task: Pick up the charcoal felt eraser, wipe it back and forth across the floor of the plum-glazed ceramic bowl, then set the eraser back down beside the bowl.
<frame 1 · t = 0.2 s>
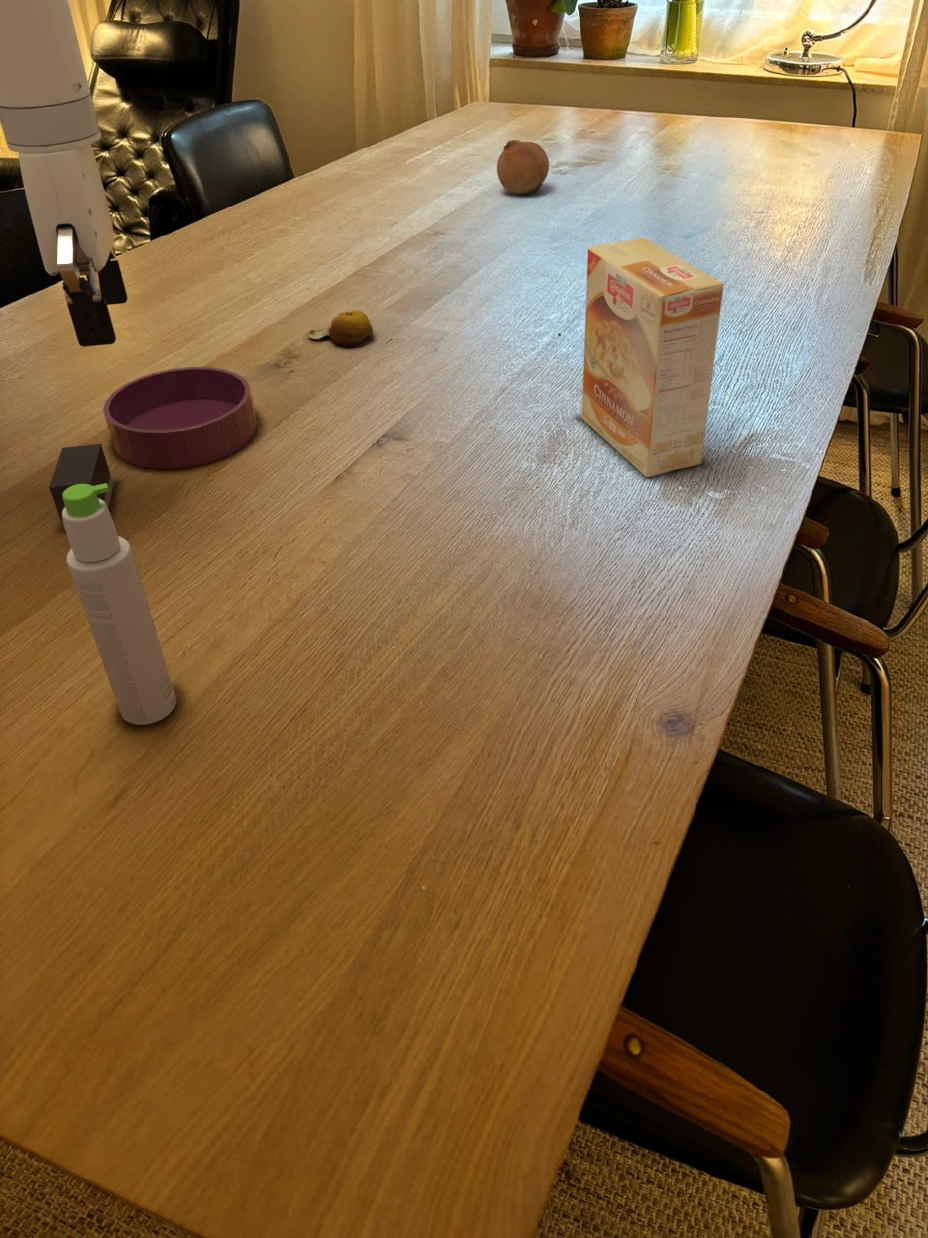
hand: (105, 322, 93), 19 cm above the table, tool pointing down, fingers open, 9 cm apart
coffeecake box: (638, 442, 109), on the table
onion: (523, 193, 182), on the table
eraser: (89, 506, 103), on the table
bowl: (186, 433, 115), on the table
fruit: (346, 335, 135), on the table
bottle: (149, 708, 79), on the table
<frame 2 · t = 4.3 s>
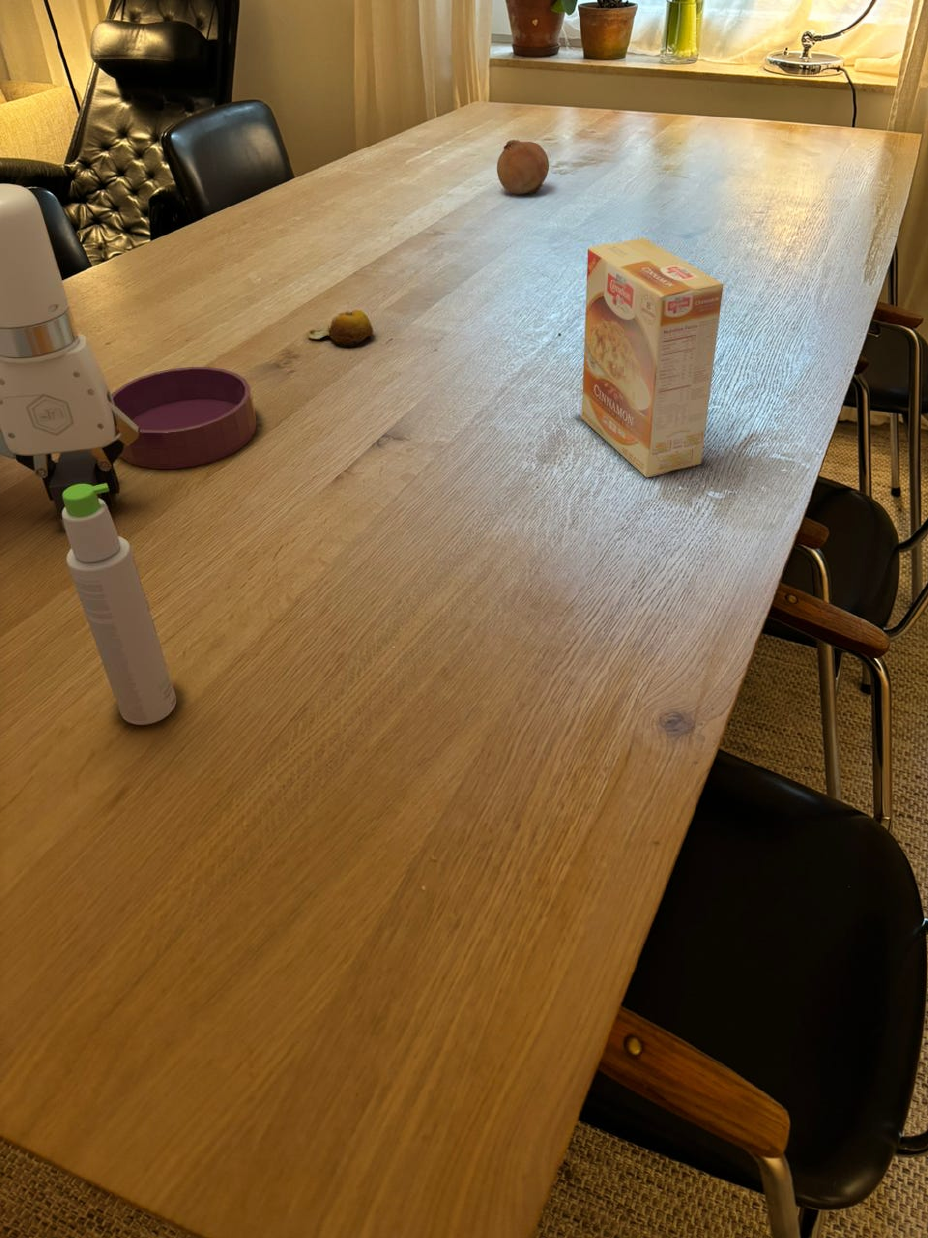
hand: (87, 499, 102), 1 cm above the table, tool pointing down, fingers closed on eraser, 4 cm apart
eraser: (89, 506, 103), on the table, touching gripper
everything else where it was.
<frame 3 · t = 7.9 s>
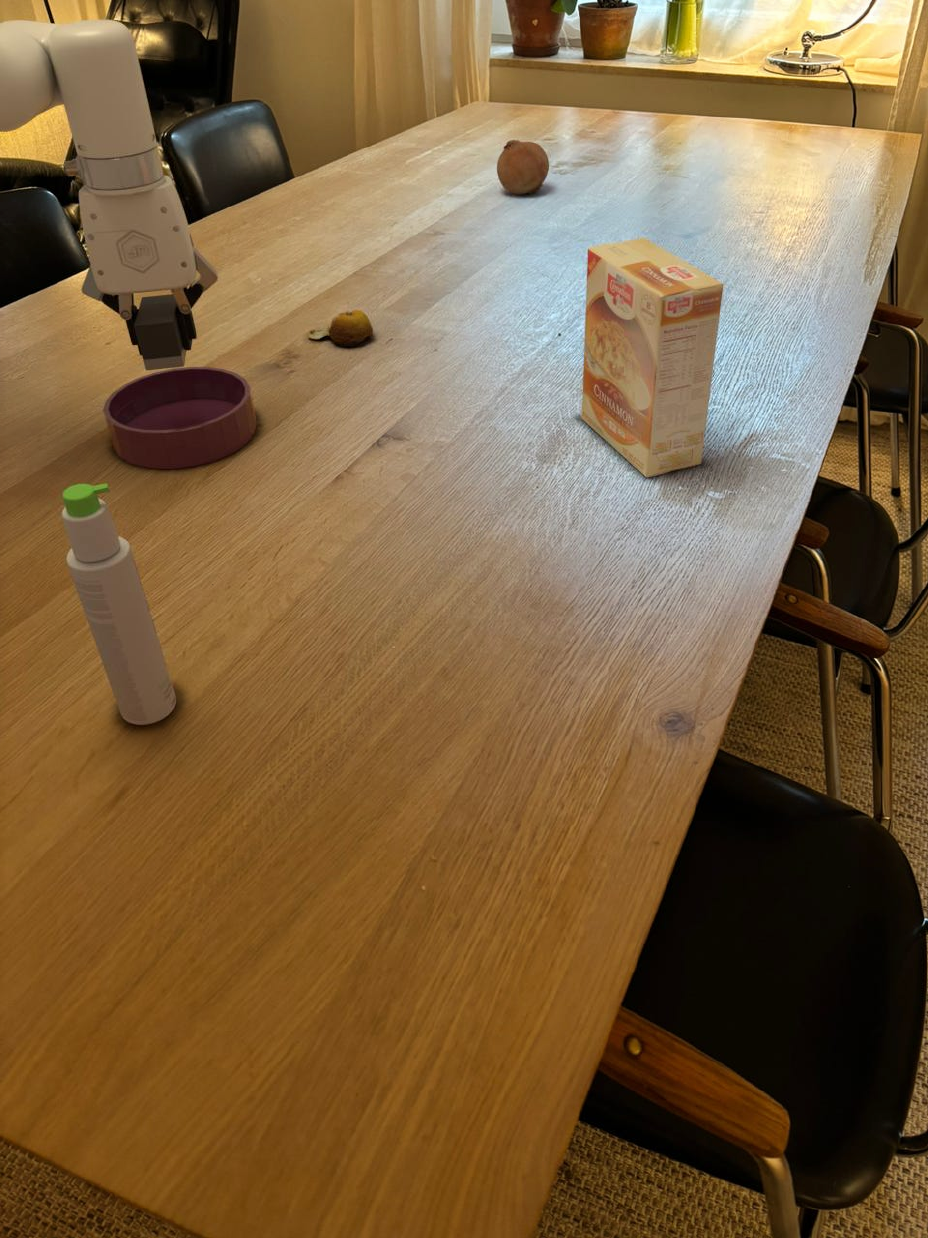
hand: (166, 346, 108), 11 cm above the table, tool pointing down, fingers closed on eraser, 4 cm apart
eraser: (168, 353, 108), point 10 cm above the table, touching gripper
everything else where it was.
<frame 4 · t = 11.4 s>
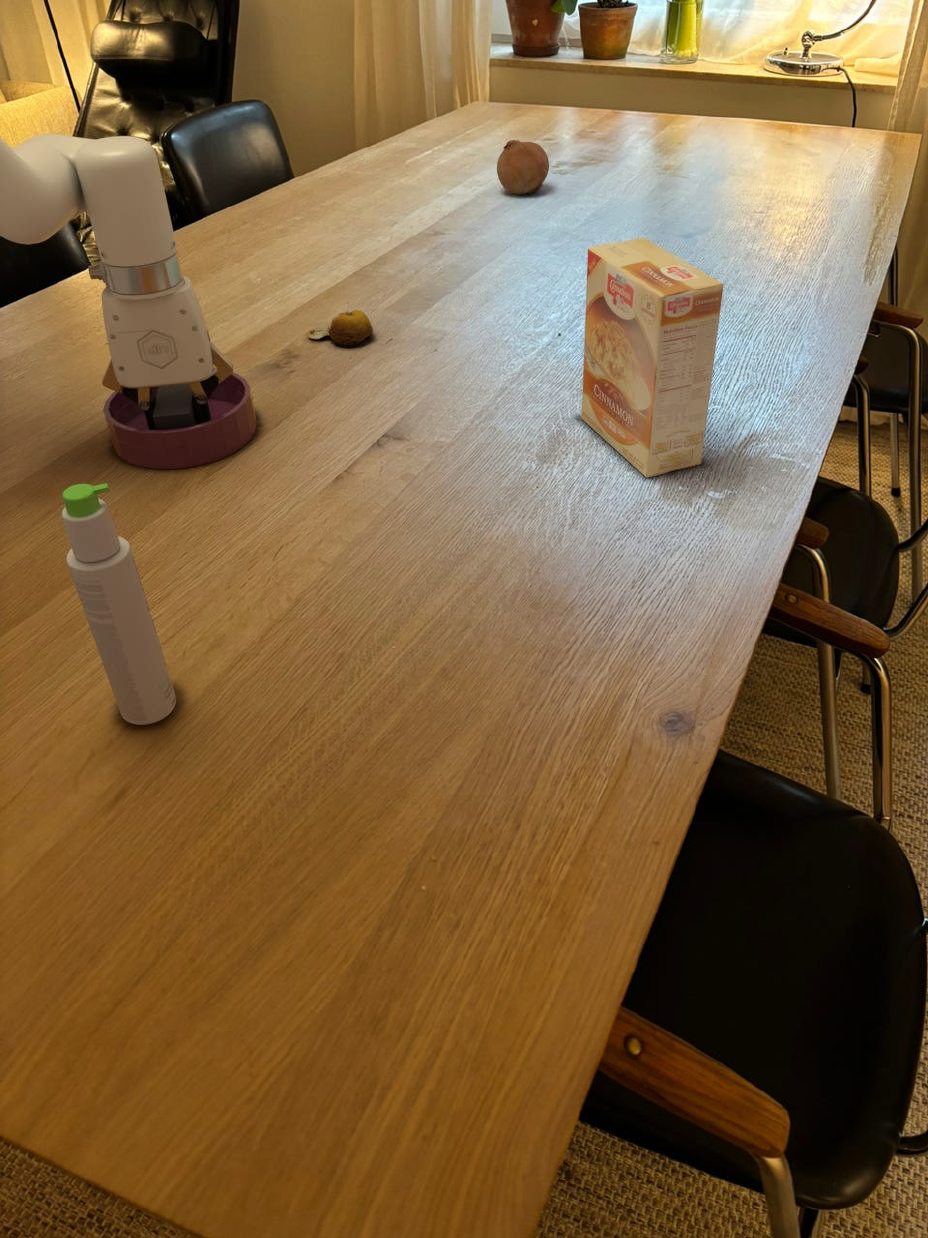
hand: (182, 432, 112), 1 cm above the table, tool pointing down, fingers closed on eraser, 4 cm apart
eraser: (183, 438, 112), point 1 cm above the table, touching gripper
everything else where it was.
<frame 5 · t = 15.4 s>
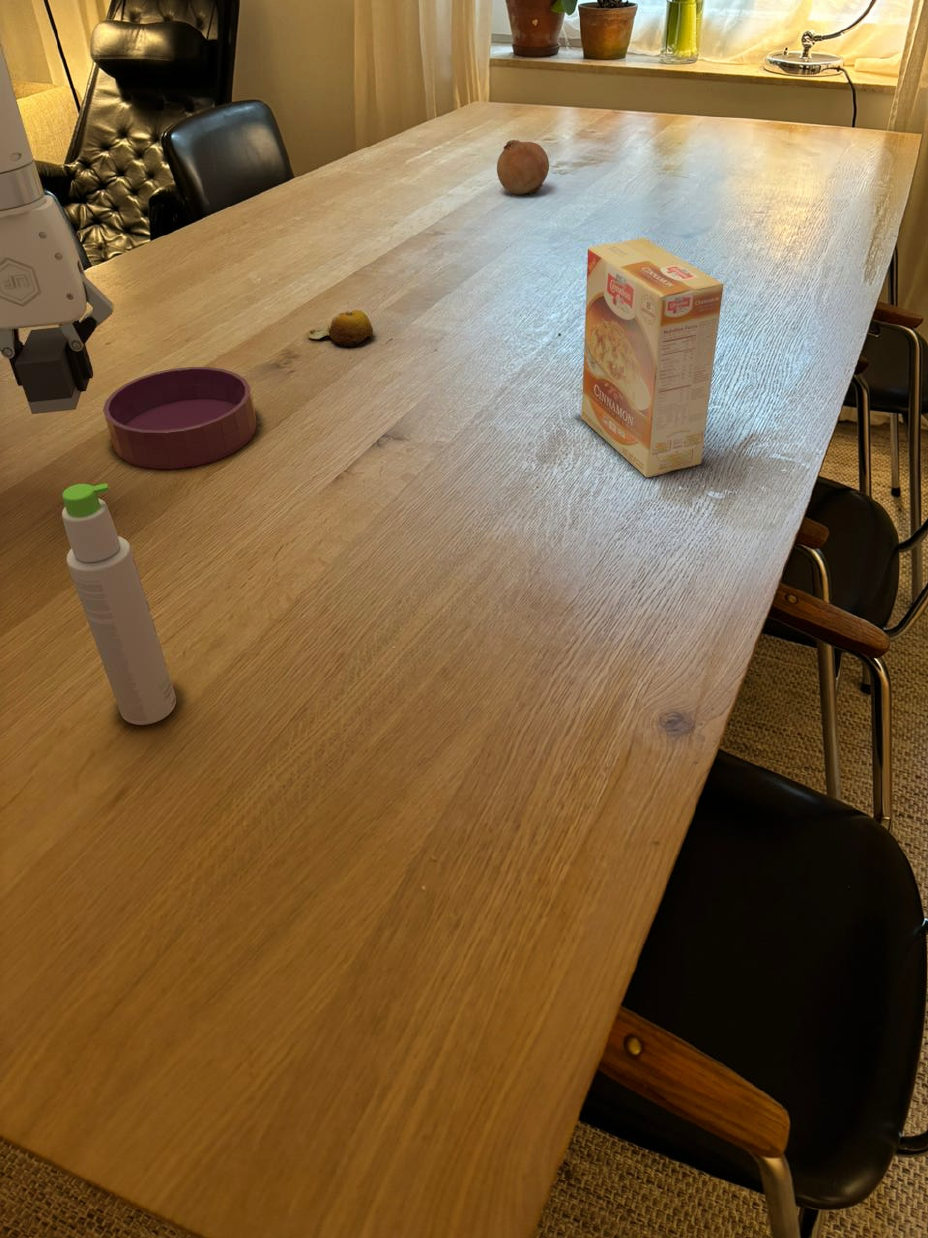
hand: (58, 386, 95), 13 cm above the table, tool pointing down, fingers closed on eraser, 4 cm apart
eraser: (60, 393, 96), point 12 cm above the table, touching gripper
everything else where it was.
when the fingers open (1 cm above the table, at t = 18.6 s): eraser stays where it is, on the table.
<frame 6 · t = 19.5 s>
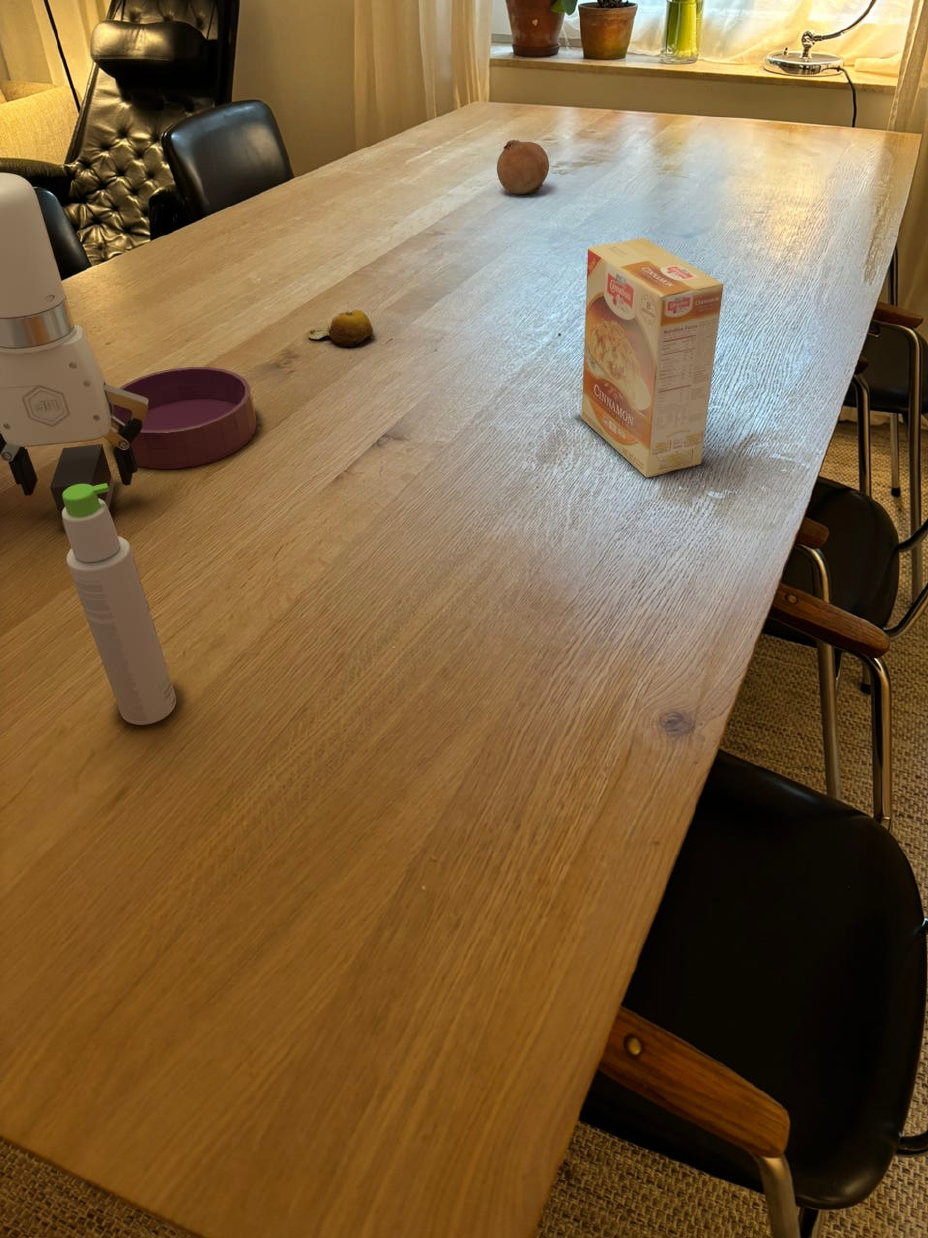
hand: (80, 483, 101), 3 cm above the table, tool pointing down, fingers open, 9 cm apart
eraser: (90, 506, 103), on the table
everything else where it was.
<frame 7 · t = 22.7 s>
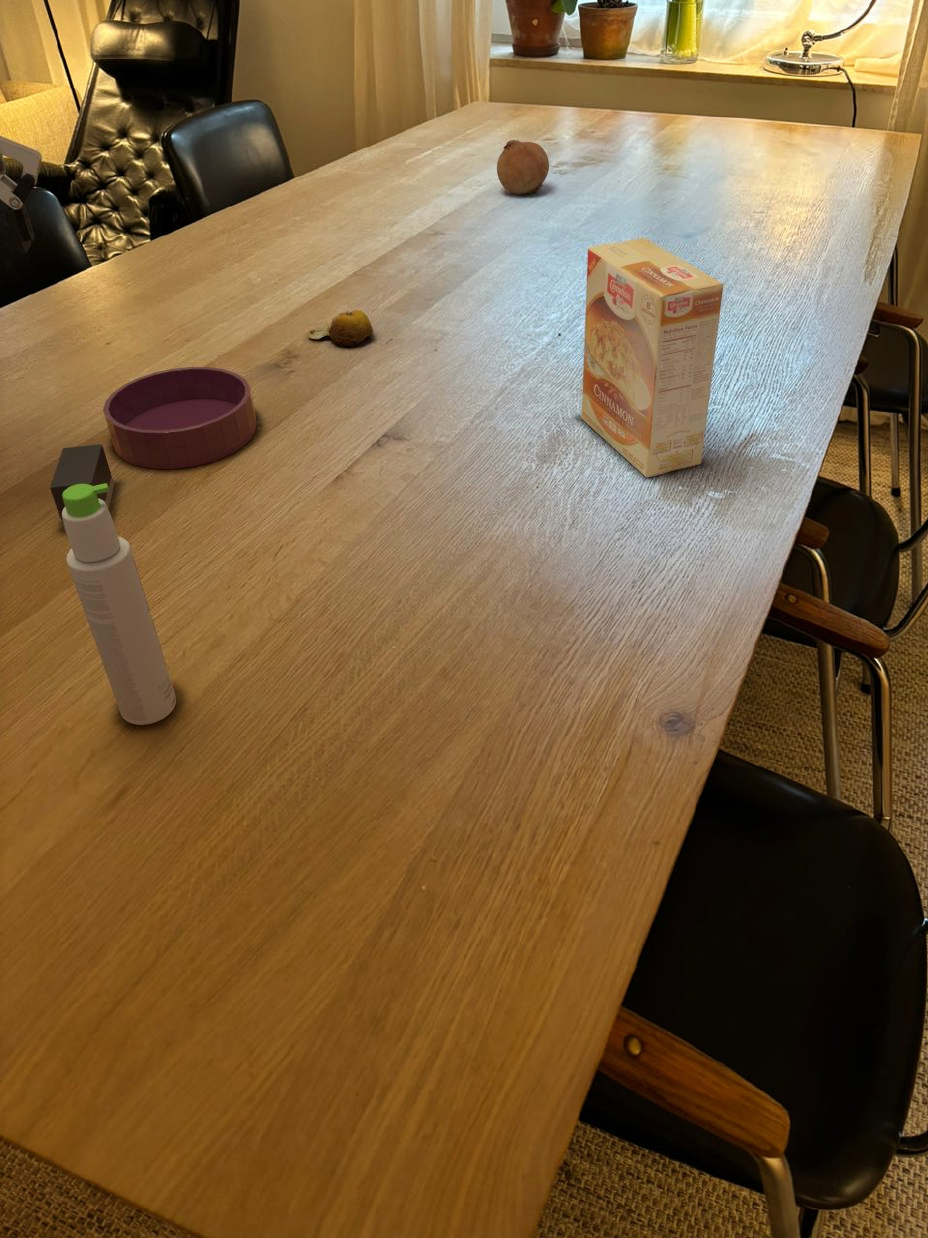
nothing on the table moved.
at the end: eraser inside the target area (0.1 cm from its centre), on the table; eraser tilted 0°; the gripper is holding nothing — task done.
